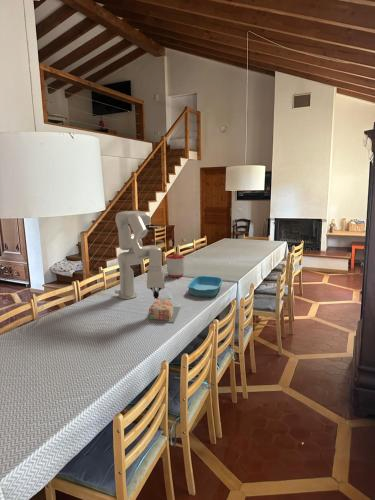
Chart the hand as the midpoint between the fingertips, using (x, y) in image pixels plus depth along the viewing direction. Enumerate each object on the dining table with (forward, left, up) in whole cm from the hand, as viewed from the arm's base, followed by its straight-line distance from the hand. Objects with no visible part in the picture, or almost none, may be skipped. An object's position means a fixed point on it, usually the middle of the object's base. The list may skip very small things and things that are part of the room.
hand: (156, 297), depth 218 cm
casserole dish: (+26, +51, -11) cm, 58 cm away
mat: (+6, 0, -10) cm, 12 cm away
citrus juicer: (-3, +90, -10) cm, 91 cm away
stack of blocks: (-2, 0, -7) cm, 7 cm away
